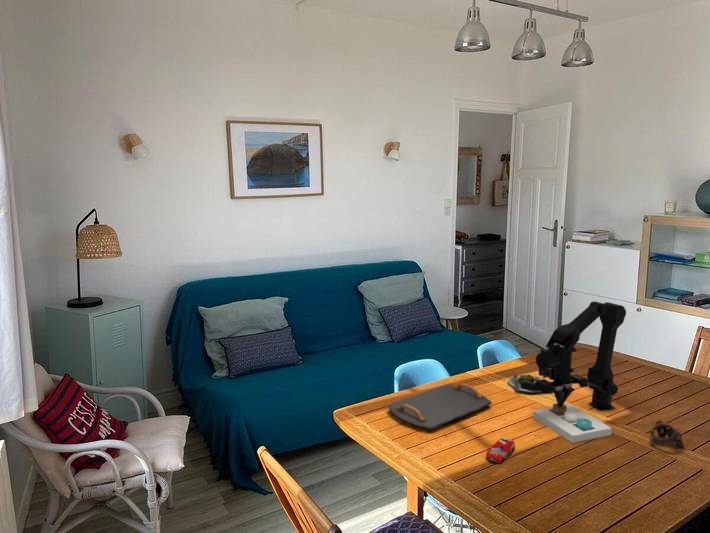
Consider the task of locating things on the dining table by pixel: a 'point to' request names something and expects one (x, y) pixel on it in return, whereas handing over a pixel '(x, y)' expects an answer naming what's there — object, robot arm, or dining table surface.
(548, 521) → the dining table surface
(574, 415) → the key ivory
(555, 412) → the key walnut
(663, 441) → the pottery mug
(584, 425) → the key teal
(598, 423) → the keypad
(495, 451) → the race car
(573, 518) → the dining table surface
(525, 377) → the salad plate
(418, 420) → the serving board
